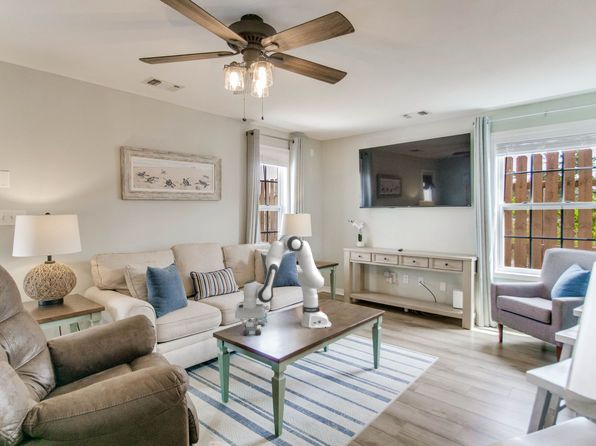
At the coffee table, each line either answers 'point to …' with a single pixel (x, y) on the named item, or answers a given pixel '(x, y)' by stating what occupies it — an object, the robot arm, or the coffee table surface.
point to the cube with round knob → (250, 323)
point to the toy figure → (262, 320)
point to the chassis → (252, 330)
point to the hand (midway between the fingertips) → (250, 324)
